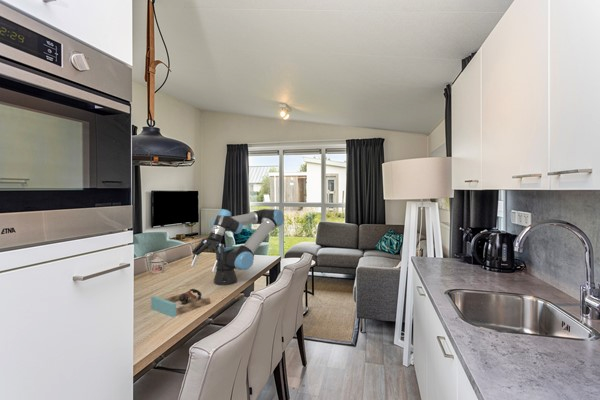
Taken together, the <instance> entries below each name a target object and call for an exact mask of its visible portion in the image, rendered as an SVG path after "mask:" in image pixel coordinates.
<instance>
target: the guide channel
mask: <svg viewBox="0 0 600 400" xmlns="http://www.w3.org/2000/svg"><path fill="white" fill-rule="evenodd" d="M185 293H186V292H183V293H182V292H181V293H179V294H175V295H173V296H169V297H166V298H164V299H165V300H168V301H170V302H173V303H176V302H180V301H179V296H180V295H182V294H185ZM188 297H189V295H188ZM189 298H190V297H189ZM189 298H188V299H189ZM182 299H183V298H182ZM190 299H191V298H190ZM210 304H211V297H206V298H201V300H199V301H197V302H195V301H194V302H191V303H188V304H185V305H182V306H179V307H176V316H175V317H177V316H180V315H182V314H186V313H188V312H191V311H193V310H196V309H200V308H201V307H204V306H207V305H210Z"/></svg>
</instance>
